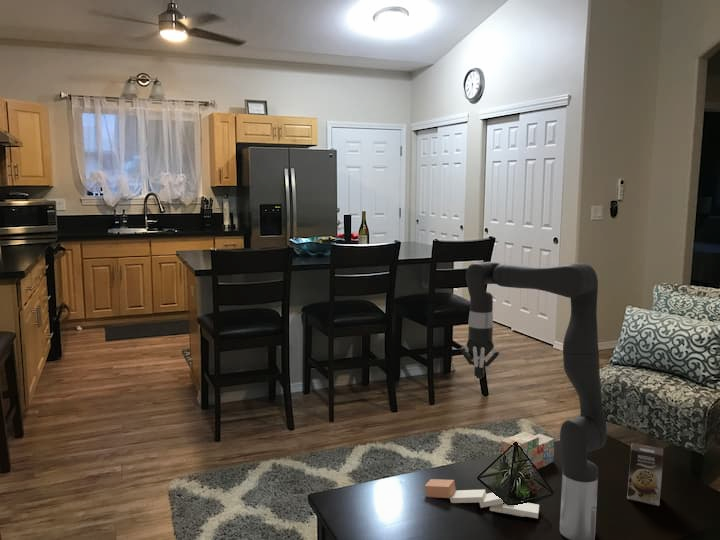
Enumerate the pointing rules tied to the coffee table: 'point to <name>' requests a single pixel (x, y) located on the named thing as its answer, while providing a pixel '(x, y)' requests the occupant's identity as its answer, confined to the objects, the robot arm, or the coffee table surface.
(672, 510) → the coffee table surface
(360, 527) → the coffee table surface
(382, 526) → the coffee table surface
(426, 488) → the domino
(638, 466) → the brown cookie box
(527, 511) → the domino
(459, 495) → the domino
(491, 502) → the domino
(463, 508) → the coffee table surface
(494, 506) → the domino
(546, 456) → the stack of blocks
